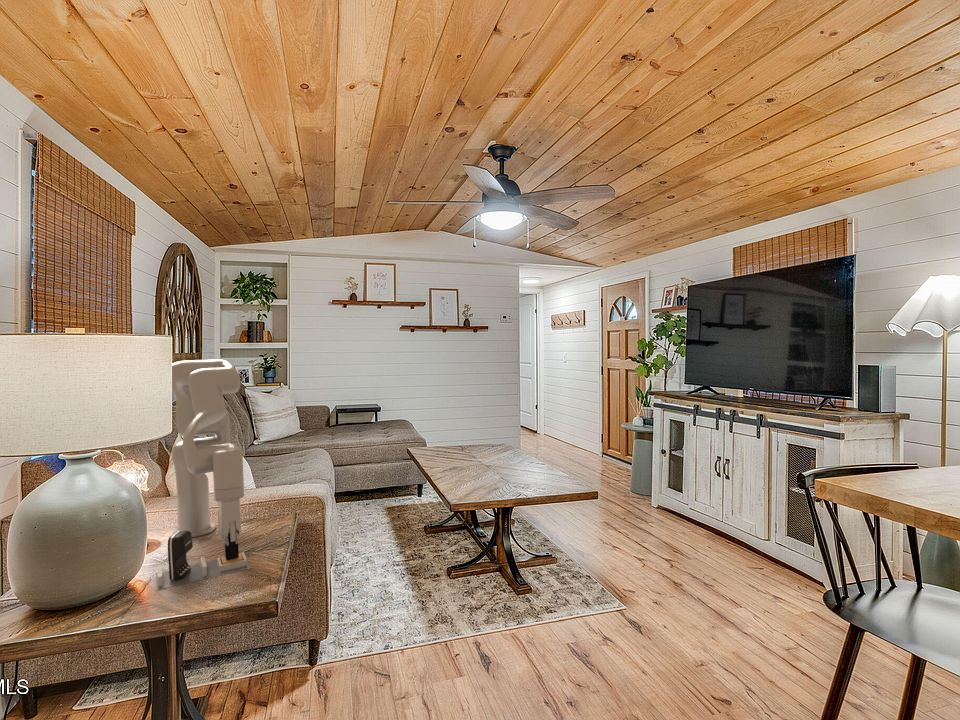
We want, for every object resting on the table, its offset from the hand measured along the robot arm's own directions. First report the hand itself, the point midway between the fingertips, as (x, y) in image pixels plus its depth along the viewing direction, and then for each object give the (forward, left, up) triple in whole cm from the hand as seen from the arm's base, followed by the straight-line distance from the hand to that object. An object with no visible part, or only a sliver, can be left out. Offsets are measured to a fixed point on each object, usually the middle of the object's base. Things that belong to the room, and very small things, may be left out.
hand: (232, 558), depth 142 cm
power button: (0, 0, -1) cm, 1 cm away
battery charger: (0, -12, -2) cm, 12 cm away
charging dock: (0, -7, -3) cm, 8 cm away
